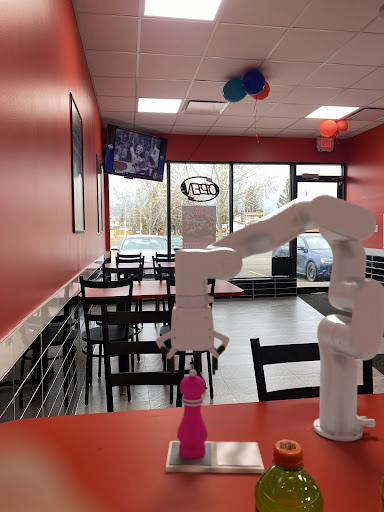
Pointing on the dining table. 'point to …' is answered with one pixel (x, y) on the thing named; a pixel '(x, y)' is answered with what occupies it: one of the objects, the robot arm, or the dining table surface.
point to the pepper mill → (192, 418)
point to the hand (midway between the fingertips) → (193, 373)
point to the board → (218, 458)
